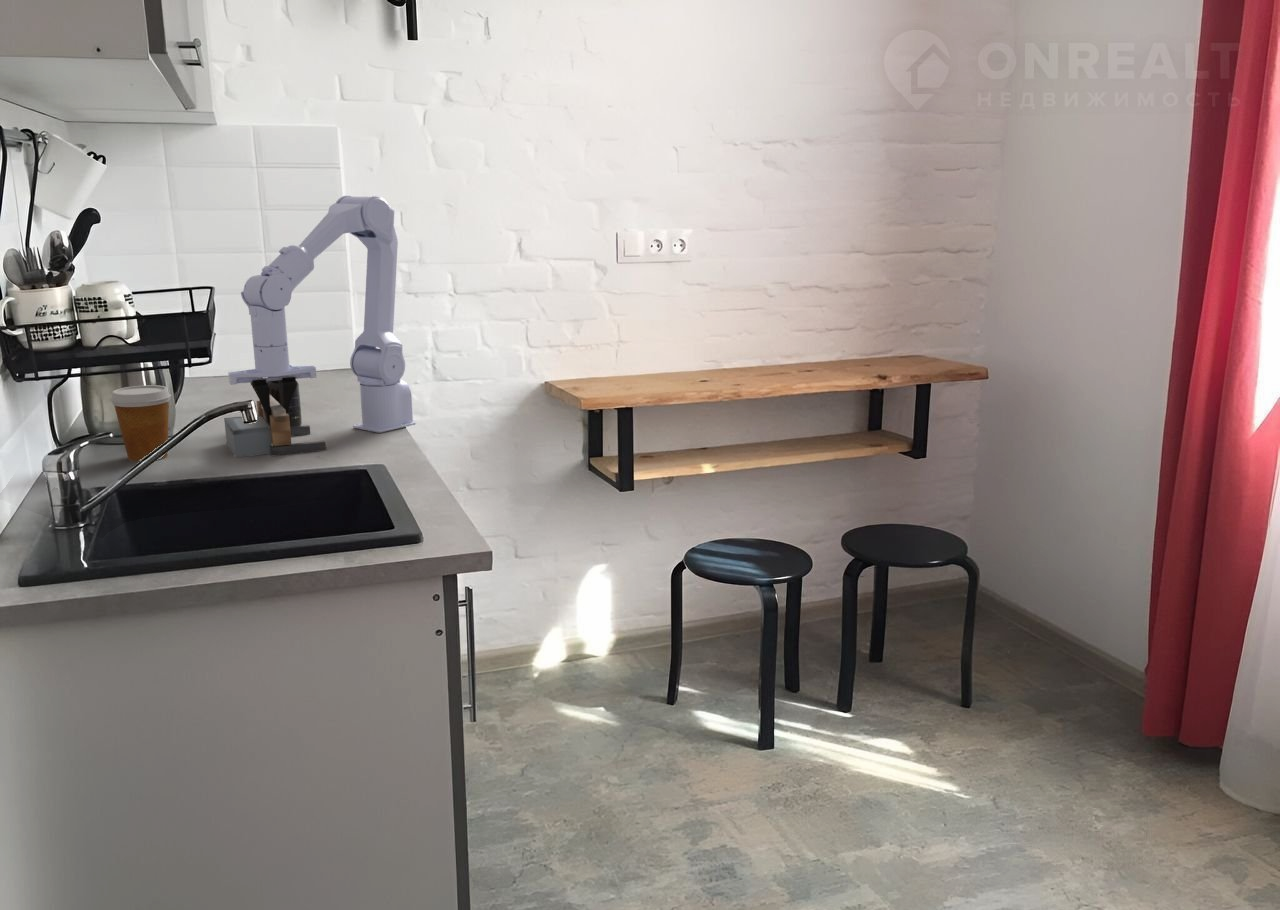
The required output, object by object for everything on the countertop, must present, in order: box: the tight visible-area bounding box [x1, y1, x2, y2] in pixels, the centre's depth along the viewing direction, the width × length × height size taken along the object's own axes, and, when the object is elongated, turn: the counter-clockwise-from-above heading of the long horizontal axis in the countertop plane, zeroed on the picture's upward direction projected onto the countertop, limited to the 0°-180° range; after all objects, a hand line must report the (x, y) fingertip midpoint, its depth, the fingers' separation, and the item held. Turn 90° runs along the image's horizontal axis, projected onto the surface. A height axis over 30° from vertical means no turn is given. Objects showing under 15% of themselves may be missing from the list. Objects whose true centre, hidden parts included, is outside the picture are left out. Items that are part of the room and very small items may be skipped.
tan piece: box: [256, 395, 292, 446], centre depth 195 cm, size 3×16×7 cm, turn 28°
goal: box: [223, 414, 273, 458], centre depth 193 cm, size 6×11×5 cm, turn 28°
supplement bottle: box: [266, 364, 303, 427], centre depth 209 cm, size 7×7×12 cm
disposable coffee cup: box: [110, 384, 172, 463], centre depth 186 cm, size 10×10×12 cm
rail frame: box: [269, 424, 327, 457], centre depth 197 cm, size 10×15×2 cm, turn 28°
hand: (277, 420), depth 191 cm, fingers closed on tan piece, 2 cm apart
